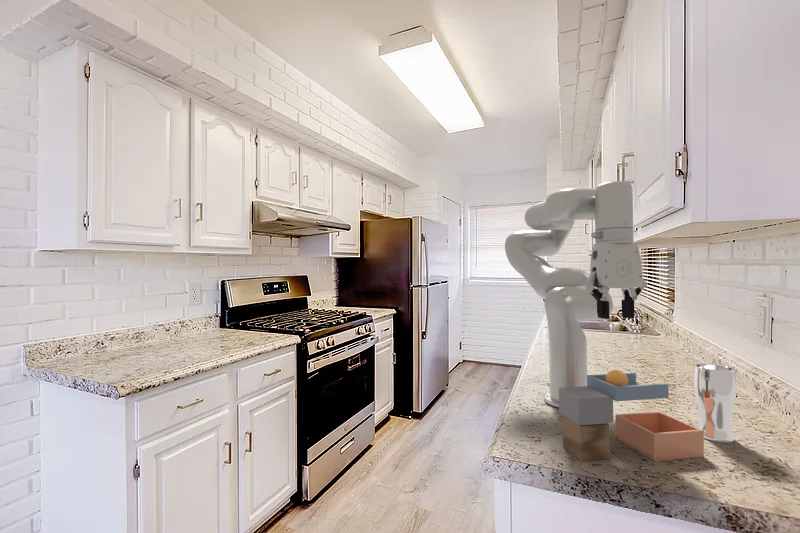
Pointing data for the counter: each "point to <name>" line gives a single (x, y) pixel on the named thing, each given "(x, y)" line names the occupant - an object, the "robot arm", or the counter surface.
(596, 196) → the robot arm
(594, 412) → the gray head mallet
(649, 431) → the shallow terracotta crate
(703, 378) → the beer glass
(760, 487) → the counter surface
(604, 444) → the pedestal
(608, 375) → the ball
